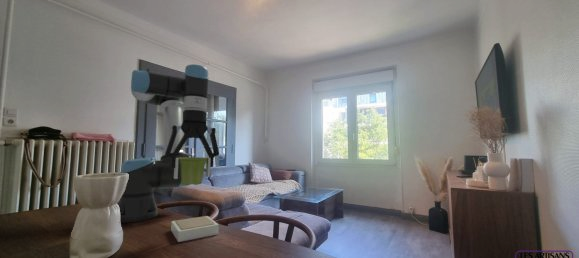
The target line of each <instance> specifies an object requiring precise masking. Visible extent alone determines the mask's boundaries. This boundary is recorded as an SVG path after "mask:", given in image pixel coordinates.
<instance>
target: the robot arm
mask: <svg viewBox="0 0 579 258" xmlns="http://www.w3.org/2000/svg"><path fill="white" fill-rule="evenodd" d="M208 87H209V70H208V68H207V67H206V66H204V65H200V64H195V63H194V64H187V65H186V66H185V69H184V77H180V76H174V75H167V74H162V73H156V72H151V71H147V70H138V69H134V70H132V72H131V82H130V91H131V94H132V97H134V98H135V99H136V100H138V101H139V102H142V103H144V104H149V105H155V106H159V109H160V111H162V113H163V154H162V155H161V156H160V158H159V160H157V158H156V157H155V156H151V157H141V158H132V159H128V160H125V161H123V162H122V164H121V169H120V172H119V174H120V173H128V174H129V180H128V183H127V187H126V190H125V192H124V194H123V196H122V198H121V200H120V201H119V202H118V201H117V202H118V205H119V207H120V212H121V224H122V223H124V224H125V223H136V222H143V221H147V220H150V219H154V218H155V217H157V216H158V206H157V203H156V199H155V196H154V194H155V193H154V192H155V190H156V189H158V190H159V189H172V188H183V187H188V186H189V185H183V184H182V182H181V171H180V164H179V158H183V157H190V155H189V154H188V153H187V152H186V142H187V141H188V139H199V140H200V142H201V144H202V146H203V148H204V150H205V153H206V154H207V158H208V159H207V160H206V163H205V177H206V178H211V168H213V167H214V158H215V157H217V156H220V151H219V147H218V143H217V137H216V130H217V129H216V128H215V127H208V126H207V119H208V113H207V112H206V111H207V109H208V93H209V92H208V90H209V89H208ZM206 132H207V133H208V134H209V138H210V143H211V147H212V149H211V147H210V145H209V143H208V140H207V139H206V136H205V133H206Z"/></svg>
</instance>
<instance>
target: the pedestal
mask: <svg viewBox="0 0 579 258" xmlns="http://www.w3.org/2000/svg"><path fill="white" fill-rule="evenodd" d="M219 227H220V226H219V223H218V222H216V221H215V220H214V219H213V218H211V217H210V216H208V215H204V216H198V217H191V218H184V219H177V220H172V221H171V227H170V228H171V229H170V230H171V233H172V234H173V236H174V237H175V239H176V241H177V243H180V242H185V241H186V242H187V241H190V240H197V239H200V238H201V239H202V238H205V237H211V236H215V235H219Z"/></svg>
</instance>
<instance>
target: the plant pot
mask: <svg viewBox="0 0 579 258" xmlns="http://www.w3.org/2000/svg"><path fill="white" fill-rule="evenodd" d="M208 158H209V157H203V156H201V157H200V156H199V157H198V156H197V157H193V156H191V157H190V156H189V157H183V158H179V164H180V171H181V182H182V184H183V185H188V186H190V185H194V186H197V185H202V182H203V177H204V171H205V168H206V160H207V159H208Z"/></svg>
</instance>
